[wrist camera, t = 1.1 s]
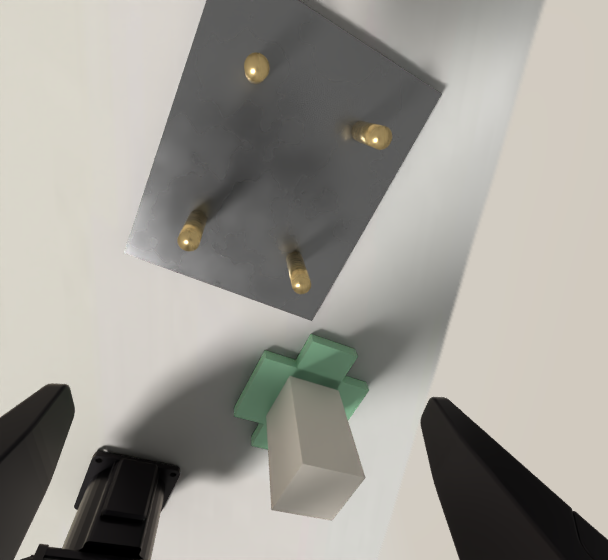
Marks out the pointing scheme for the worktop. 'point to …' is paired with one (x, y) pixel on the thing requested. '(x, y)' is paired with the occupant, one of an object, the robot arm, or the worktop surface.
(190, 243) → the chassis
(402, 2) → the worktop surface
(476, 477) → the robot arm
